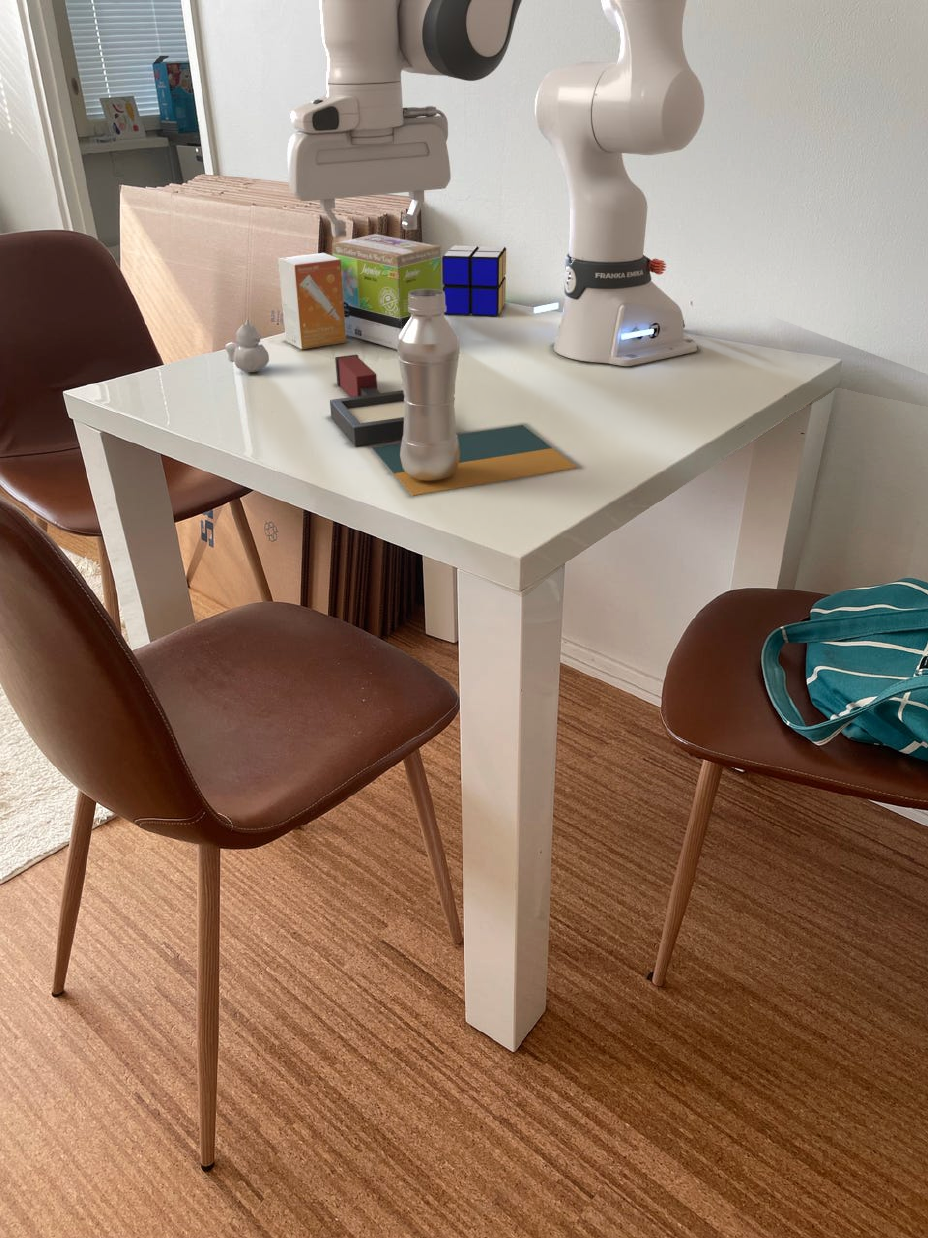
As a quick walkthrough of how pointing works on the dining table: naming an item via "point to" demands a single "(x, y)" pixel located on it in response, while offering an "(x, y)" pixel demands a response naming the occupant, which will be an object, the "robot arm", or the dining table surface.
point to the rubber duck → (248, 349)
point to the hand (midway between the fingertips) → (375, 232)
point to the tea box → (383, 283)
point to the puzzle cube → (474, 280)
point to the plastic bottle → (429, 388)
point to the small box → (312, 300)
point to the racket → (366, 405)
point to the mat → (485, 460)
